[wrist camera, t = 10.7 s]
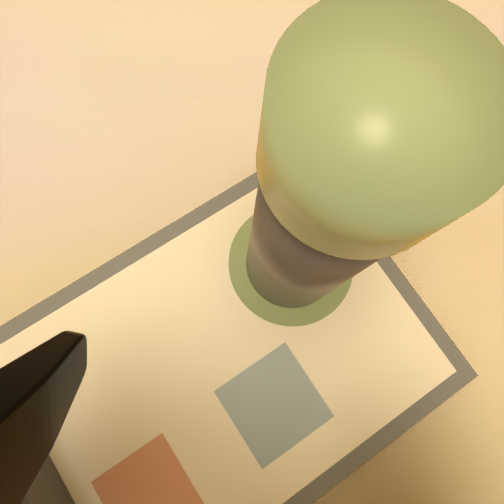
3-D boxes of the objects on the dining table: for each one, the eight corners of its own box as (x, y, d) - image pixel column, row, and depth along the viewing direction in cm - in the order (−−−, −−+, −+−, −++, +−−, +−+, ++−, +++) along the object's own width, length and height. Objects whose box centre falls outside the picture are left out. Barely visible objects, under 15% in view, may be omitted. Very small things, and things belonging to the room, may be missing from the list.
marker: (357, 277, 20) (581, 135, 7) (278, 330, 19) (371, 278, 6) (302, 200, 21) (418, -53, 8) (224, 249, 20) (212, 58, 7)
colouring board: (470, 375, 20) (480, 375, 19) (-10, 744, 16) (-22, 762, 15) (303, 148, 22) (306, 140, 21) (-155, 425, 18) (-172, 427, 17)
